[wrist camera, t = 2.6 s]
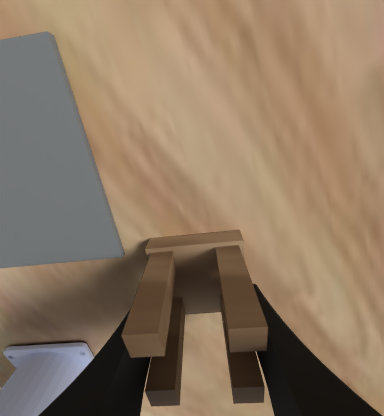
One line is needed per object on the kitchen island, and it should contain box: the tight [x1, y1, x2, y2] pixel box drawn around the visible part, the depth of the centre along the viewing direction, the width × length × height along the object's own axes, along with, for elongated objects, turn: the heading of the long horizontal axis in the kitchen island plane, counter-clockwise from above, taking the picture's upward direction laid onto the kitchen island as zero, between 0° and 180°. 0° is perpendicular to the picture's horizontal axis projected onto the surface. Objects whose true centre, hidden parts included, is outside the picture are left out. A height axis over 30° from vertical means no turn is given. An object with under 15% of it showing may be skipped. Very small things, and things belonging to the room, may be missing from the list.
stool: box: [121, 230, 268, 406], centre depth 11 cm, size 6×6×6 cm
